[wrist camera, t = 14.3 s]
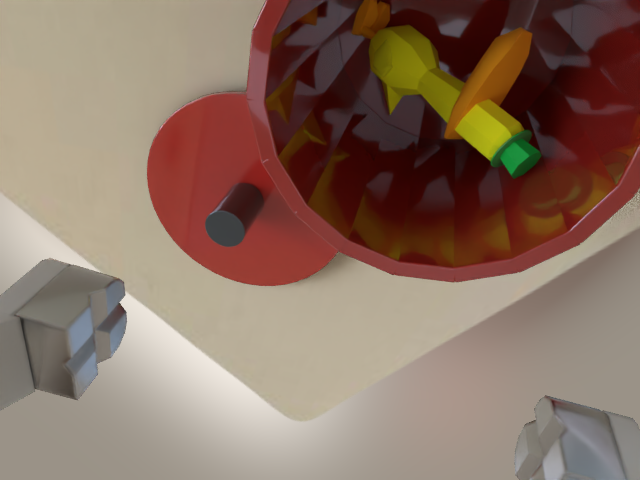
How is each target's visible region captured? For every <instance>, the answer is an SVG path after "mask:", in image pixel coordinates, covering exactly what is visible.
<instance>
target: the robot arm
mask: <svg viewBox="0 0 640 480" xmlns="http://www.w3.org/2000/svg"><path fill="white" fill-rule="evenodd" d="M124 296H125V287H124V282H123V281H122V280H120V279H119V278H116V277H113V276H109V275H106V274H103V273H99V272H96V271H93V270H89V269H86V268H83V267H79V266H76V265H70V264H67V263H64V262H61V261H58V260H54V259H51V258H49V259H45V260H42V261H41V262H40V263H38V264H37V265H36V266H35V267H33V268H32V269H31V270H30V271H29V272H28V273H26V274H25V275H24V276H23V277H22V278H20V279H19V280H18V281H17V282H16V283H15V284H13V285H12V286H11V287H10V288H8V289H7V290H6V291H5V292H4V293H2V294H1V295H0V410H2V409H4V408H6V407H8V406H10V405H11V404H13V403H15V402H17V401H18V400H20V399H22V398H24V397H26V396H28V395H30V394H31V393H33V392H35V389H38V390H41V391H45V392H49V393H52V394H56V395H60V396H64V397H67V398H72V399H75V400H78V399H79V398H80V397H81V395H82V394H83V393H84V392H85V390H86V389H87V387H88V386H89V385H90V384H91V383H92V381H93V380H94V379H95V377H96V376H97V375H98V369H97V363H100V362H102V361H104V360H106V359H108V358H111V357H112V355H113V354H114V353H115V351H116V350H117V348H118V347H119V345H120V343H121V341H122V338H123V336H124V334H125V329H126V323H127V317H126V311H125V310H124V308H123V307H122V306H121V304H120V303H119V302H120V301H121V300H122V298H123V297H124ZM534 410H535V417H536V420H534V421H532V422H529V423H527V424H525V426H524V427H523V430H522V431H521V433H520V435H519V437H518V441H517V446H516V450H515V471H516V476H517V477H518V479H519V480H640V429H639V427H638V424H637V423H636V422H635V420H634V419H633V418H630V417H626V416H623V415H619V414H615V413H611V412H607V411H601V410H599V409H595V408H591V407H587V406H584V405H580V404H576V403H572V402H569V401H565V400H561V399H557V398H553V397H550V396H546V395H545V396H544V397H543V398H541V399H540V400H539V402H538V404H537V405H536V407H535V409H534Z"/></svg>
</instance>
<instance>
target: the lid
mask: <svg viewBox="0 0 640 480" xmlns="http://www.w3.org/2000/svg"><path fill="white" fill-rule="evenodd" d="M147 179H148V188H149V193H150V197H151V200H152V203H153V206H154V209H155V211H156V213H157V215H158V217H159V220H160V221H161V223H162V225H163V226H164V228H165V229H166V231H167V232H168V234H169V235H170V236H171V238H172V239H173V240H174V241H175V243H176V244H177V245H178V246H179V247H180V248H181V249H182V250H183V251H184V252H185V253H187V254H188V255H189V256H190V257H191V258H192V259H194V260H195V261H196V262H198V263H199V264H201V265H202V266H204V267H205V268H207V269H209V270H211V271H212V272H214V273H216V274H218V275H221V276H223V277H225V278H228V279H231V280H234V281H237V282H241V283H246V284H251V285H259V286H276V285H285V284H289V283H293V282H297V281H299V280H302V279H305V278H307V277H309V276H311V275H313V274H314V273H316V272H318V271H319V270H320V269H322V268H323V267H324V266H326V265H327V264H328V263H329V262H330V261H331V260H332V259H333V258H334V256H335V255H336V254H337V252H338V250H336V249H335V248H334V247H333V246H332V245H330V244H329V243H328V242H327V241H326V240H325V239H323V238H322V237H321V236H320V235H319V234H317V233H316V232H315V231H314V230H313V229H312V228H310V227H309V226H308V225H307V224H306V223H304V222H303V221H302V220H301V219H300V218H298V217H297V216H296V215H295V214H294V213H293V212H292V210H291V209H290V207H289V205H288V204H287V202H286V201H285V199H284V197H283V196H282V194H281V193H280V191H279V189H278V188H277V186H276V185H275V183H274V182H273V180H272V178H271V177H270V175H269V174H268V172H267V170H266V169H265V167H264V166H263V164H262V161H261V158H260V154H259V150H258V145H257V141H256V137H255V133H254V129H253V125H252V121H251V117H250V113H249V109H248V104H247V99H246V92H237V91H227V92H217V93H213V94H209V95H205V96H202V97H199V98H197V99H195V100H192V101H190V102H189V103H187V104H186V105H184V106H182V107H181V108H179V109H178V110H177V111H176V112H174V113H173V114H172V115H171V116H170V117H169V118H168V119H167V120H166V121H165V122H164V124H163V125H162V126H161V127H160V129H159V131H158V133H157V134H156V136H155V138H154V140H153V143H152V146H151V148H150V153H149V157H148V165H147Z"/></svg>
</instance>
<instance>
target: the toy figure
mask: <svg viewBox="0 0 640 480" xmlns="http://www.w3.org/2000/svg"><path fill="white" fill-rule="evenodd" d="M389 21H390V4H387V3H384V2H381V1H380V2H379V3H378V4H377V0H364V1H363V3H362V4H361V6H360V7H359V9H358V12H357V14H356V17H355V21H354V25H353V29H352V32H351V33H352V34H353V35H358V36H360V35H362V36H363V37H365V38H369V39H371V41H370V46H369V59H370V67H371V71H372V72H373V73H374V74H375V75H376V76H377V77H378V78H379V79H380V80H381V81H382V85H383V89H384V93H385V97H386V101H387V105H388V109H389V113H390V114H391V113H392V111H393V110H394V108H395V107H396V105H397V104H398V102H399V101H400V99H401V98H402V96H403V95H417V94H421V95H422V96H423V97H424V98H425V99H426V100H427V101H428V103H429V104H430V105H431V106H432V107H433V108H434V109H435V110H436V111H437V112H438V114H439V115H440V116H441V117H442V118H443V119H444V120H445V121H446V122H447V125H446V129H445V133H444V137H445V138H446V139H463V138H464V139H465V140H466V141H467V142H468V143H469V144H471V145H472V146H473V147H474V148H475V149H477V150H478V151H479V152H480V153H481V154H482V155H484V156H485V157H486V158H487V159H488V160H490V161H491V165H492V166H493V167H499V166H502V165H505V167H506V168H507V170H508V171H509V173H510V175H511V176H512V177H513V179H515V178H517V177H519V176H521V175H524V174H525V173H526V172H527V171H528V170H530V169H531V168H532V167H533V166H534V165H535V164H536V163H537V161H538V160H539V159H540V157H541V156H542V155H541V153H540V151H538V150H537V149H536V148H534V147H533V146H532V145H530V144H529V141H530V139H531V137H532V133H531V131H530V130H524V128H523V127H522V125H521V123H520V122H518V121H517V120H516V119H514V118H513V117H512V116H511V115H509V114H508V113H507V112H505V111H504V110H503V109H501V108H500V107H499V106H500V104H501V103H502V102H503V100H504V98H505V97H506V95H507V93H508V92H509V90H510V88H511V87H512V85H513V83H514V82H515V80H516V79H517V77H518V75H519V74H520V72H521V70H522V68H523V65H524V63H525V61H526V59H527V57H528V55H529V50H530V45H531V39H532V34H533V33H531V32H529V31H527V30H525V29H523V28H521V27H520V28H518V29H515V30H513V31H510V32H508V33H506V34H503V35H501V36H499V37H496V38H495V39H494V41H493V42H492V44H491V45H490V47H489V48H488V49H487V51H486V52H485V54H484V55H483V57H482V58H481V60H480V61H479V63H478V64H477V66H476V67H475V69H474V70H473V72H472V73H471V75H470V76H469V78H468V80H467V81H466V83H464V82H462V81H460V80H459V79H457V78H455V77H453V76H451V75H450V74H448V73H446V72H444V71H443V70H441V69H440V65H439V58H438V51H437V50H436V48H435V47H434V46H433V44H432V43H431V41H430V40H429V39H428V38H426V37H425V36H424V35H422V34H421V33H420V32H418V31H417V30H416V29H414V28H413V27H412V26H410V25H403V26H395V27H388V28H385V27H386V26H387V24H388V22H389Z"/></svg>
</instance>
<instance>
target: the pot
mask: <svg viewBox="0 0 640 480" xmlns="http://www.w3.org/2000/svg"><path fill="white" fill-rule="evenodd" d="M363 1H364V0H266V1H265V3H264V5H263V7H262V9H261V11H260V14H259V16H258V18H257V20H256V22H255V24H254V29H253V30H252V38H251V48H250V59H249V70H248V80H247V91H246V99H247V104H248V109H249V113H250V117H251V121H252V125H253V129H254V133H255V137H256V141H257V145H258V150H259V154H260V158H261V161H262V164H263V166H264V167H265V169H266V170H267V172H268V174H269V175H270V177H271V178H272V180H273V182H274V183H275V185H276V186H277V188H278V189H279V191H280V193H281V194H282V196H283V197H284V199H285V201H286V202H287V204H288V205H289V207H290V209H291V210H292V212H293V213H294V214H295V215H296V216H297V217H298V218H300V219H301V220H302V221H303V222H304V223H306V224H307V225H308V226H309V227H310V228H312V229H313V230H314V231H315V232H316V233H317V234H319V235H320V236H321V237H322V238H323V239H325V240H326V241H327V242H328V243H329V244H330V245H332V246H333V247H334V248H335V249H336V250H338V251H340V252H341V253H343V254H345V255H348V256H350V257H352V258H355V259H357V260H359V261H362V262H364V263H366V264H369V265H371V266H373V267H376V268H378V269H380V270H383V271H385V272H387V273H389V274H392V275H394V274H395V275H397V276H405V277H414V278H422V279H430V280H438V281H446V282H454V281H455V282H462V281H468V280H474V279H481V278H487V277H494V276H500V275H506V274H513V273H517V272H522V271H524V270H526V269H528V268H530V267H533V266H535V265H537V264H539V263H541V262H543V261H545V260H548V259H550V258H552V257H554V256H556V255H558V254H561V253H563V252H565V251H567V250H569V249H571V248H573V247H576V246H578V245H580V243H582V242H584V241H585V240H586V239H587V238H588V237H589V236H590V235H591V234H593V233H594V232H595V231H596V230H597V229H598V228H599V227H600V226H601V225H603V224H604V223H605V222H606V221H607V220H608V219H609V218H610V217H612V216H613V215H614V214H615V213H616V212H617V211H618V210H619V209H621V208H622V207H623V206H624V205H625V204H626V203H627V202H628V201H629V200H631V199H632V198H633V197H634V196H635V194H636V193H637V192H638V190H639V188H640V0H377V4H378V3H379V2H380V1H381V2H384V3H387V4H390V21H389V22H388V24H387V26H386V27H385V28H388V27H395V26H403V25H410V26H412V27H413V28H414V29H416V30H417V31H418V32H420V33H421V34H422V35H424V36H425V37H426V38H428V39H429V40H430V41H431V43H432V44H433V46H434V47H435V48H436V50H437V51H438V58H439V65H440V69H441V70H443V71H444V72H446V73H448V74H450V75H451V76H453V77H455V78H457V79H459V80H460V81H462V82H464V83H466V81H467V80H468V78H469V76H470V75H471V73H472V72H473V70H474V69H475V67H476V66H477V64H478V63H479V61H480V60H481V58H482V57H483V55H484V54H485V52H486V51H487V49H488V48H489V47H490V45H491V44H492V42H493V41H494V39H495V38H496V37H499V36H501V35H503V34H506V33H508V32H510V31H513V30H515V29H518V28H520V27H521V28H523V29H525V30H527V31H529V32H531V33H533V34H532V39H531V45H530V50H529V55H528V57H527V59H526V61H525V63H524V65H523V68H522V70H521V72H520V74H519V75H518V77H517V79H516V80H515V82H514V83H513V85H512V87H511V88H510V90H509V92H508V93H507V95H506V97H505V98H504V100H503V102H502V103H501V104H500V106H499V107H500V108H501V109H503V110H504V111H505V112H507V113H508V114H509V115H511V116H512V117H513V118H514V119H516V120H517V121H518V122H520V123H521V125H522V127H523V128H524V130H530V131H531V133H532V137H531V139H530V141H529V144H530V145H532V146H533V147H534V148H536V149H537V150H538V151H540V153H541V155H542V156H541V157H540V159H539V160H538V161H537V163H536V164H535V165H534V166H533V167H532V168H531V169H530V170H528V171H527V172H526V173H525V174H524V175H521V176H519V177H517V178H515V179H513V177H512V176H511V175H510V173H509V171H508V170H507V168H506V167H505V165H502V166H499V167H493V166H492V165H491V161H490V160H488V159H487V158H486V157H485V156H484V155H482V154H481V153H480V152H479V151H478V150H477V149H475V148H474V147H473V146H472V145H471V144H469V143H468V142H467V141H466V140H465V139H464V138H463V139H446V138H445V137H444V133H445V129H446V125H447V122H446V121H445V120H444V119H443V118H442V117H441V116H440V115H439V114H438V112H437V111H436V110H435V109H434V108H433V107H432V106H431V105H430V104H429V103H428V101H427V100H426V99H425V98H424V97H423V96H422V95H421V94H417V95H403V96H402V98H401V99H400V101H399V102H398V104H397V105H396V107H395V108H394V110H393V111H392V113H391V114H390V113H389V109H388V105H387V101H386V97H385V93H384V89H383V85H382V81H381V80H380V79H379V78H378V77H377V76H376V75H375V74H374V73H373V72H372V71H371V67H370V59H369V46H370V41H371V39H369V38H365V37H363V36H362V35H360V36H358V35H353V34H352V33H351V32H352V29H353V25H354V21H355V17H356V14H357V12H358V9H359V7H360V6H361V4H362V3H363Z"/></svg>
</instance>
